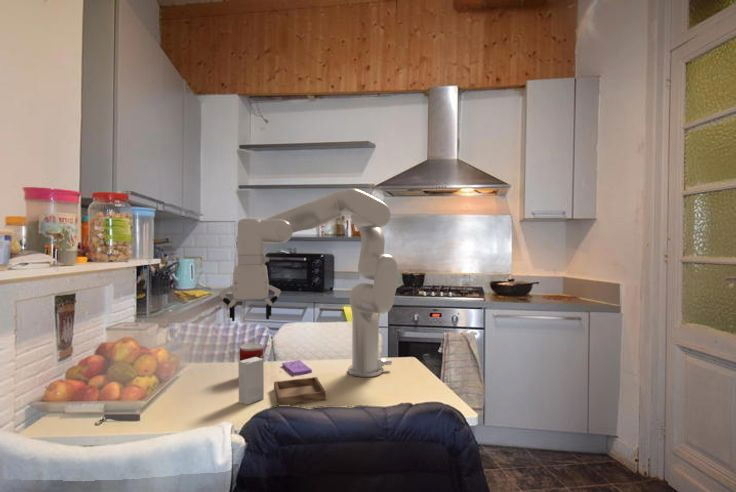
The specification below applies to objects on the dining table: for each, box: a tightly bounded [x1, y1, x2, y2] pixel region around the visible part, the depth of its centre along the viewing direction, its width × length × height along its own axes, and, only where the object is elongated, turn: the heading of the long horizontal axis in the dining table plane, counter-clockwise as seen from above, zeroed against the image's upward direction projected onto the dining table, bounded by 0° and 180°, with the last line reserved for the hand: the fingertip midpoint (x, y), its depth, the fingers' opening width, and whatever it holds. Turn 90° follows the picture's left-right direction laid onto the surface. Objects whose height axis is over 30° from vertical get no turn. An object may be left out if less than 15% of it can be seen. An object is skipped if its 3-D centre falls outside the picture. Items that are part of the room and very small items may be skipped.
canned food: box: [239, 342, 265, 361], centre depth 136 cm, size 8×8×11 cm
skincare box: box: [238, 357, 265, 406], centre depth 117 cm, size 6×4×12 cm
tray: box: [273, 376, 327, 406], centre depth 122 cm, size 14×14×2 cm
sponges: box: [281, 359, 313, 377], centre depth 146 cm, size 7×13×2 cm, turn 30°
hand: (250, 319), depth 117 cm, fingers open, 9 cm apart
